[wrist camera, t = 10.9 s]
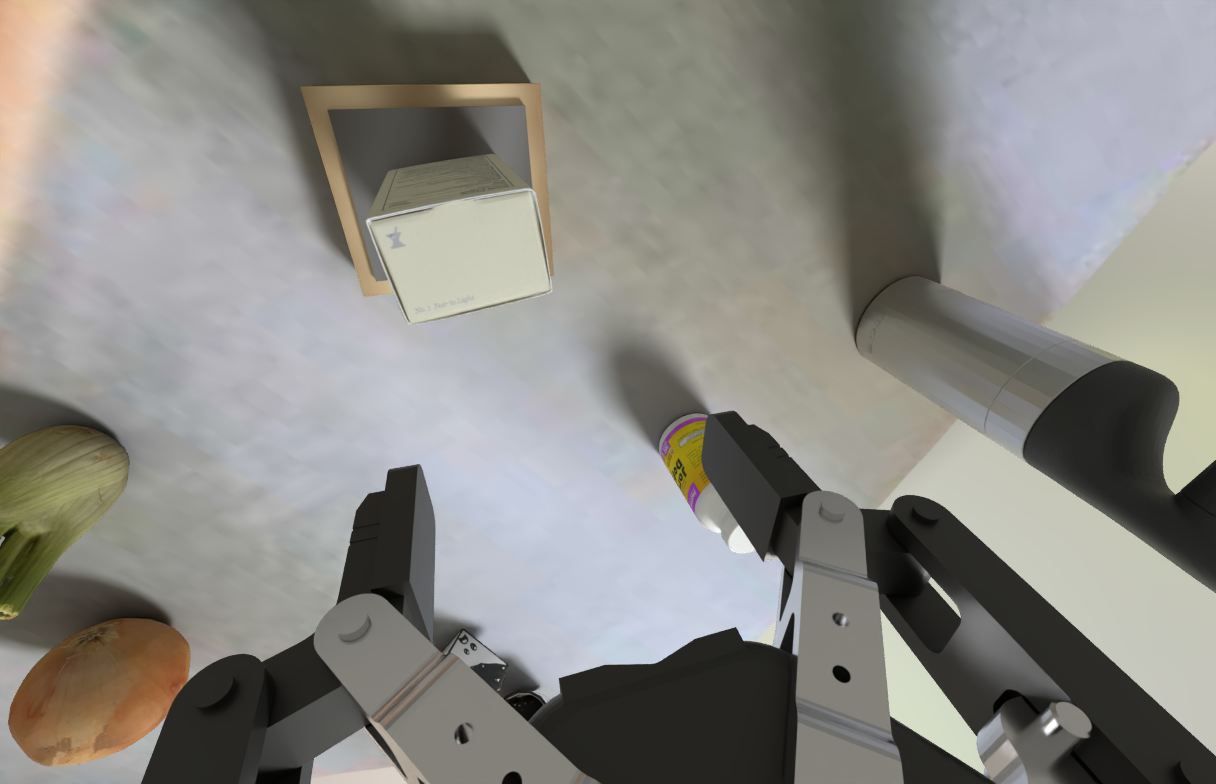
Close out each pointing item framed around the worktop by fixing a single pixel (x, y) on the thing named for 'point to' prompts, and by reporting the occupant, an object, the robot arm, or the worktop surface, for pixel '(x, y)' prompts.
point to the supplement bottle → (699, 480)
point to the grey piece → (493, 672)
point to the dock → (420, 145)
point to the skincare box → (458, 238)
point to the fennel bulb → (51, 501)
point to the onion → (99, 691)
